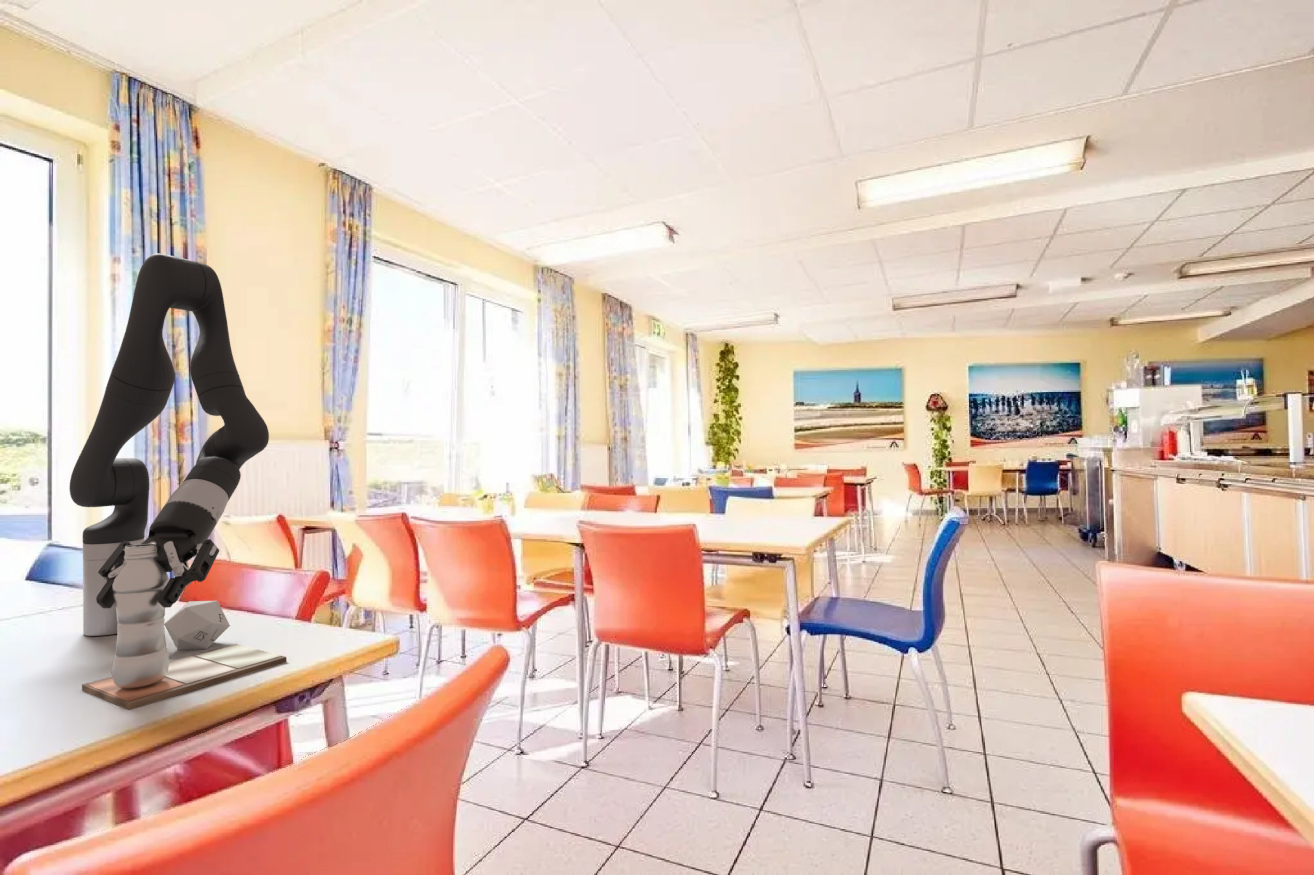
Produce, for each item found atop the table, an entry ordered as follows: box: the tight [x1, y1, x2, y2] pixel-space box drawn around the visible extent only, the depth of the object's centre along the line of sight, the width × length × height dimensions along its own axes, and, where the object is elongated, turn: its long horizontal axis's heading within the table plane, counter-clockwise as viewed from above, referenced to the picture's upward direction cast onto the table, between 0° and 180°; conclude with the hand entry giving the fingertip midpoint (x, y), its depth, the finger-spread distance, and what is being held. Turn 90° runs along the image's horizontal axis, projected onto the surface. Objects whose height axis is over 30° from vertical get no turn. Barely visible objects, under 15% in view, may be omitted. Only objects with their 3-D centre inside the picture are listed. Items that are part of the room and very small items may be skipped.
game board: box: [81, 643, 287, 710], centre depth 98 cm, size 15×21×1 cm
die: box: [164, 600, 231, 651], centre depth 113 cm, size 8×9×10 cm
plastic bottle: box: [110, 544, 171, 688], centre depth 92 cm, size 6×7×20 cm
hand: (133, 605), depth 90 cm, fingers open, 8 cm apart
